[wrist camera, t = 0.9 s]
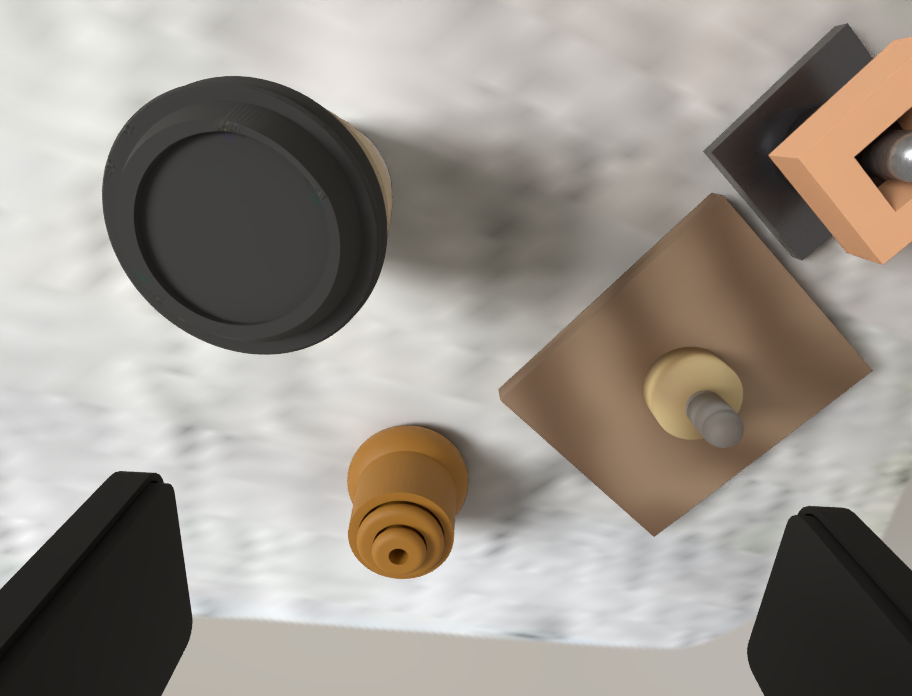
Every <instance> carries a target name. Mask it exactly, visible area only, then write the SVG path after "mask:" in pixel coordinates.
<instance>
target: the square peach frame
mask: <svg viewBox="0 0 912 696" xmlns="http://www.w3.org/2000/svg"><path fill="white" fill-rule="evenodd" d="M896 120H897V122H898V123H899V124H900V126H901V127H902V129H903V130H912V37H909V38H904V39H899V40H894V41H893V42H891V43H890V44H889V45H888V46H887V47H886V48H885V49H884V50H883V51H882V52H880V53H879V54H878V55H877V56H876V57H875V58H874V59H873V60H872V61H871V62H870V63H868V64H867V65H866V66H865V67H864V68H863V69H862V70H861V71H860V72H859V73H858V74H856V75H855V76H854V77H853V78H852V79H851V80H850V81H849V82H848V83H847V84H846V85H844V86H843V87H842V88H841V89H840V90H839V91H838V92H837V93H836V94H835V95H833V96H832V97H831V98H830V99H829V100H828V101H827V102H826V103H825V104H824V105H823V106H821V107H820V108H819V109H818V110H817V111H816V112H815V113H814V114H813V115H812V116H811V117H809V118H808V119H807V120H806V121H805V122H804V123H803V124H802V125H801V126H800V127H799V128H797V129H796V130H795V131H794V132H793V133H792V134H791V135H790V136H789V137H788V138H787V139H785V140H784V141H783V142H782V143H781V144H780V145H779V146H778V147H777V148H776V149H774V150H773V151H772V152H771V153H770V154H769V155H768V156H769V157H770V158H771V159H772V161H773V162H774V163H775V164H776V166H777V167H778V168H779V169H780V171H781V172H782V173H783V174H784V176H785V177H786V178H787V179H788V180H789V182H790V183H791V184H792V185H793V187H794V188H795V189H796V190H797V192H798V193H799V194H800V195H801V197H802V198H803V199H804V200H805V201H806V203H807V204H808V205H809V206H810V208H811V209H812V210H813V211H814V213H815V214H816V215H817V216H818V218H819V219H820V220H821V221H822V223H823V224H824V225H825V226H826V227H827V229H828V230H829V231H830V232H831V234H832V235H833V236H834V237H835V239H836V240H837V241H838V242H839V244H840V245H841V246H842V247H843V248H844V250H845V251H846V252H847V253H849V254H852V255H855V256H858V257H861V258H864V259H867V260H870V261H873V262H876V263H879V264H882V265H883V264H884V263H885V262H887V261H888V260H889V259H890V258H892V257H893V256H894V255H895V254H897V253H898V252H899V251H900V250H902V249H903V248H904V247H905V246H906V245H908V244H909V243H910V242H911V241H912V183H911V182H903V181H895V180H886V181H885V182H884V183H882V184H881V185H880V186H879V187H878V188H877V187H876V186H875V184H874V183H873V182H872V180H871V179H870V178H869V176H868V175H867V174H866V173H865V171H864V170H863V169H862V167H861V166H860V165H859V163H858V162H857V161H856V159H855V158H854V157H855V156H856V155H857V154H858V153H859V152H860V151H861V150H863V149H864V148H865V147H866V146H867V145H868V144H869V143H871V142H872V141H873V140H874V139H875V138H876V137H878V136H879V135H880V134H881V133H882V132H883V131H884V130H886V129H887V128H888V127H889V126H890V125H891V124H892V123H894V122H895V121H896Z"/></svg>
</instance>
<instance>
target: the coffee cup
mask: <svg viewBox="0 0 912 696" xmlns="http://www.w3.org/2000/svg"><path fill="white" fill-rule="evenodd" d="M102 203H103V213H104V219H105V224H106V228H107V232H108V235H109V239H110V241H111V244H112V247H113V249H114V252H115V254H116V256H117V258H118V260H119V262H120V264H121V266H122V268H123V270H124V271H125V273H126V274H127V276H128V278H129V279H130V280H131V282H132V283H133V285H134V286H135V287H136V289H137V290H138V291H139V292H140V294H141V295H142V296H143V297H144V298H145V299H146V300H147V301H148V302H149V303H150V304H151V305H152V306H153V307H154V308H155V309H156V310H157V311H158V312H159V313H160V314H161V315H163V316H164V317H165V318H166V319H168V320H169V321H170V322H172V323H173V324H174V325H176V326H177V327H179V328H180V329H182V330H184V331H185V332H187V333H189V334H190V335H192V336H194V337H196V338H198V339H200V340H202V341H205V342H207V343H210V344H212V345H215V346H218V347H221V348H224V349H228V350H232V351H236V352H242V353H249V354H282V353H288V352H293V351H297V350H301V349H304V348H307V347H310V346H313V345H315V344H317V343H319V342H321V341H323V340H325V339H327V338H329V337H330V336H332V335H333V334H335V333H336V332H337V331H339V330H340V329H341V328H342V327H344V326H345V325H346V324H347V323H348V322H349V321H350V320H351V319H352V318H353V317H354V315H355V314H356V313H357V312H358V311H359V310H360V309H361V307H362V306H363V305H364V303H365V302H366V301H367V299H368V298H369V296H370V294H371V293H372V291H373V289H374V287H375V285H376V283H377V280H378V278H379V275H380V273H381V269H382V266H383V262H384V258H385V253H386V246H387V236H388V231H389V225H390V219H391V213H392V188H391V179H390V175H389V171H388V168H387V166H386V163H385V161H384V159H383V157H382V155H381V154H380V152H379V151H378V149H377V148H376V147H375V145H374V144H373V143H372V142H371V141H370V140H369V139H368V138H367V137H366V136H364V135H363V134H362V133H361V132H359V131H358V130H357V129H355V128H354V127H353V126H352V125H350V124H349V123H347V122H346V121H344V120H342V119H341V118H339V117H338V116H336V115H335V114H333V113H331V112H330V111H328V110H327V109H325V108H324V107H322V106H321V105H319V104H318V103H316V102H315V101H313V100H312V99H310V98H309V97H307V96H305V95H303V94H302V93H300V92H297V91H295V90H293V89H291V88H289V87H286V86H284V85H281V84H278V83H275V82H271V81H267V80H263V79H258V78H252V77H242V76H224V77H214V78H209V79H204V80H200V81H196V82H193V83H190V84H188V85H185V86H182V87H178V88H176V89H173V90H170V91H168V92H166V93H163V94H161V95H160V96H158V97H156V98H154V99H153V100H151V101H150V102H148V103H147V104H145V105H144V106H143V107H142V108H140V109H139V110H138V111H137V112H136V113H135V114H134V115H133V116H132V117H131V118H130V119H129V120H128V122H127V123H126V124H125V125H124V127H123V128H122V130H121V131H120V133H119V134H118V136H117V138H116V139H115V141H114V143H113V146H112V148H111V150H110V153H109V156H108V159H107V162H106V166H105V171H104V177H103V186H102Z"/></svg>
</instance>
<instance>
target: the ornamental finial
mask: <svg viewBox="0 0 912 696" xmlns="http://www.w3.org/2000/svg"><path fill="white" fill-rule="evenodd" d="M347 483H348V491H349V496H350V499H351V501H352V503H353V509H352V514H351V519H350V524H349V530H348V538H349V544H350V547H351V549H352V552H353V553H354V555H355V556H356V558H357V559H358V560H359V561H360V562H361V563H362V564H363V565H364V566H365V567H367V568H368V569H370V570H371V571H373V572H375V573H377V574H379V575H382V576H385V577H390V578H396V579H410V578H416V577H420V576H423V575H425V574H428V573H430V572H432V571H433V570H435V569H436V568H438V567H439V566H440V565H441V564H442V563H443V562H444V561H445V560H446V559H447V557H448V556H449V554H450V552H451V549H452V546H453V541H454V527H455V516H456V515H457V514H458V512H459V511H460V509H461V508H462V506H463V504H464V502H465V499H466V496H467V491H468V472H467V468H466V465H465V462H464V460H463V458H462V456H461V454H460V452H459V451H458V450H457V448H456V447H455V446H454V445H453V444H452V443H451V442H450V441H449V440H448V439H446V438H445V437H444V436H442V435H441V434H439V433H437V432H435V431H433V430H430V429H427V428H424V427H419V426H410V425H405V426H396V427H391V428H388V429H385V430H382V431H380V432H378V433H376V434H374V435H373V436H371V437H370V438H369V439H367V440H366V441H365V442H364V443H363V444H362V445H361V446H360V448H359V449H358V450H357V452H356V453H355V455H354V457H353V459H352V461H351V463H350V466H349V471H348V479H347Z"/></svg>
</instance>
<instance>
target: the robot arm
mask: <svg viewBox="0 0 912 696" xmlns="http://www.w3.org/2000/svg"><path fill="white" fill-rule="evenodd" d="M191 630H192V612H191V605H190V598H189V591H188V584H187V577H186V570H185V563H184V556H183V549H182V542H181V535H180V528H179V521H178V514H177V507H176V499H175V493H174V489H173V487H172V485H171V484H168V483H164V482H163V479H162V477H161V476H160V475H159V474H157V473H146V472H127V471H119V472H115V473H114V474H112V475H111V476H110V477H109V478H108V479H107V480H106V481H105V482H104V483H103V484H102V485H101V486H100V487H99V488H98V489H97V490H96V491H95V492H94V493H93V494H92V495H91V496H90V497H89V498H88V499H87V500H86V502H85V503H84V504H83V505H82V506H81V507H80V508H79V509H78V510H77V511H76V512H75V513H74V514H73V515H72V516H71V517H70V518H69V519H68V520H67V521H66V522H65V523H64V524H63V525H62V526H61V527H60V528H59V529H58V530H57V531H56V533H55V534H54V535H53V536H52V537H51V538H50V539H49V540H48V541H47V542H46V543H45V544H44V545H43V546H42V547H41V548H40V549H39V550H38V551H37V552H36V553H35V554H34V555H33V556H32V557H31V558H30V559H29V560H28V561H27V562H26V564H25V565H24V566H23V567H22V568H21V569H20V570H19V571H18V572H17V573H16V574H15V575H14V576H13V577H12V578H11V579H10V580H9V581H8V582H7V583H6V584H5V585H4V586H3V587H2V588H1V589H0V696H161V695H162V693H163V691H164V689H165V687H166V685H167V684H168V681H169V680H170V678H171V676H172V674H173V672H174V670H175V668H176V666H177V664H178V662H179V660H180V658H181V656H182V654H183V652H184V650H185V648H186V646H187V644H188V641H189V639H190V635H191ZM747 655H748V661H749V665H750V668H751V671H752V673H753V675H754V677H755V679H756V681H757V682H758V684H759V686H760V688H761V690H762V692H763V694H764V696H912V571H911V569H909V567H907V565H905V563H903V561H901V560H900V559H899V557H898V556H896V555H895V554H894V553H893V552H892V550H891V549H890V548H889V547H888V546H886V544H884V542H883V541H882V540H881V539H880V538H879V537H878V536H877V535H876V534H875V533H874V532H873V531H872V530H871V529H870V528H869V527H868V526H867V525H866V524H865V523H864V522H863V521H862V520H861V519H860V518H859V517H858V516H857V515H856V514H855V513H853V512H852V511H851V510H849V509H846V508H838V507H818V506H807V507H803V508H802V509H801V510H800V511H799V513H798V515H794V516H792V517H791V518H790V519H789V520H788V522H787V525H786V528H785V531H784V534H783V537H782V540H781V543H780V546H779V550H778V553H777V556H776V559H775V562H774V565H773V568H772V571H771V574H770V577H769V581H768V584H767V587H766V590H765V593H764V596H763V599H762V602H761V605H760V609H759V612H758V615H757V618H756V621H755V624H754V627H753V630H752V633H751V637H750V640H749V643H748V648H747Z"/></svg>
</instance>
